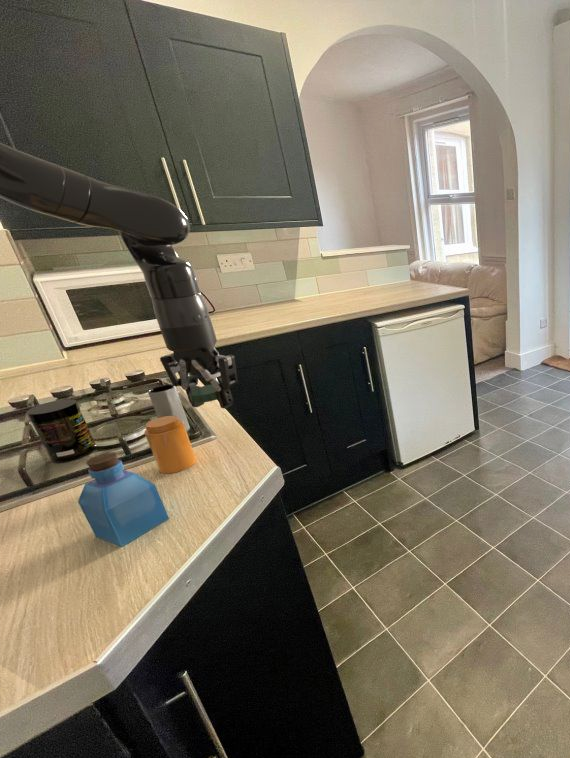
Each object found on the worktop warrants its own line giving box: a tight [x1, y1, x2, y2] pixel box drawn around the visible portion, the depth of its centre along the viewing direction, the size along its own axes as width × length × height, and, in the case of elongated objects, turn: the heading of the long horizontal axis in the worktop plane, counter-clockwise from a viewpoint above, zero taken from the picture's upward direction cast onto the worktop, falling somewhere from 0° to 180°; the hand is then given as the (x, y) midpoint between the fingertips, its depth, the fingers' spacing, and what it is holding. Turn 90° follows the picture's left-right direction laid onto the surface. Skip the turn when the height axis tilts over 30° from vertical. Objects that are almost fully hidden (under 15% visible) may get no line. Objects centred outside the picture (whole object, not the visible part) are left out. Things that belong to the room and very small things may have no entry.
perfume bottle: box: [77, 451, 170, 548], centre depth 60 cm, size 6×6×12 cm
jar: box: [143, 416, 197, 474], centre depth 77 cm, size 6×6×9 cm
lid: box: [189, 384, 218, 403], centre depth 80 cm, size 6×6×2 cm
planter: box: [147, 383, 191, 432], centre depth 89 cm, size 4×4×10 cm
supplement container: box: [26, 398, 97, 463], centre depth 81 cm, size 7×7×10 cm
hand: (212, 405), depth 81 cm, fingers closed on lid, 5 cm apart
